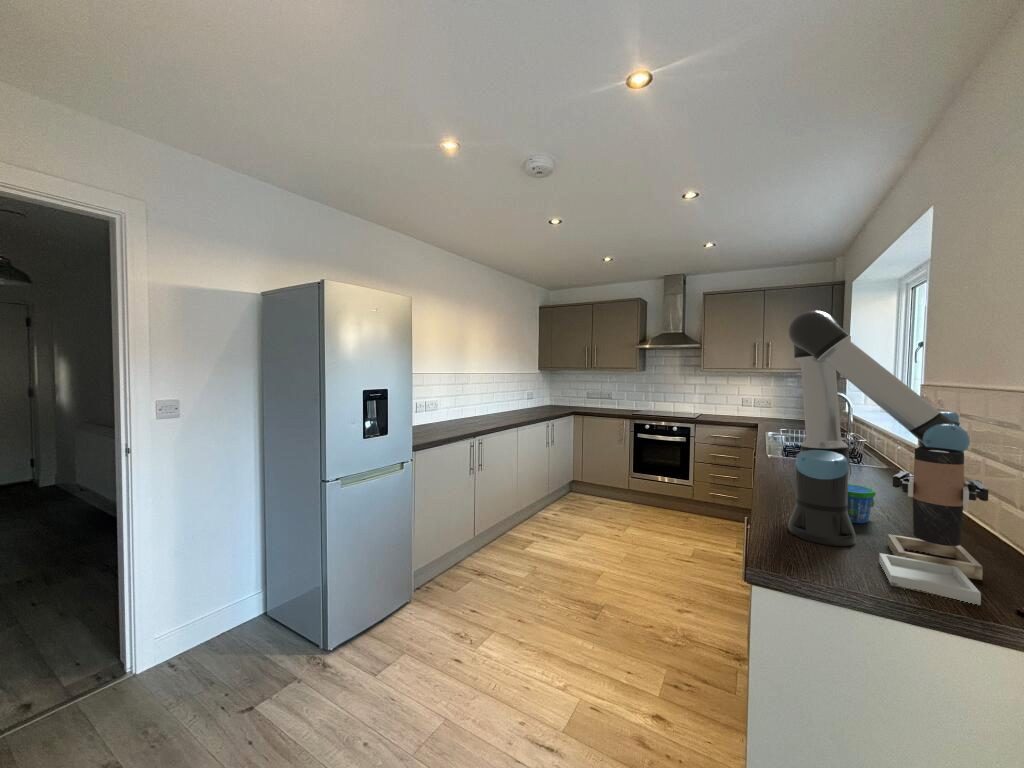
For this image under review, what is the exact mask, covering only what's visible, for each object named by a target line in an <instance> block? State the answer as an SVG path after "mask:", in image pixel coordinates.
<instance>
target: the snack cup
mask: <svg viewBox="0 0 1024 768" xmlns="http://www.w3.org/2000/svg"><path fill="white" fill-rule="evenodd" d="M876 495H877V494H876V491H875V490H874V489H873V488H869V487H867V486H862V485H858V484H857V485H856V484H849V483H848V505H847V509H848V515H849V518H850V520H851V523H852V524H866V523H868V522H869V519H870V516H871V510H872V508H873V507H874V506H875V501H874V497H875V496H876Z"/></svg>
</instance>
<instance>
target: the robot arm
mask: <svg viewBox="0 0 1024 768" xmlns="http://www.w3.org/2000/svg"><path fill="white" fill-rule="evenodd" d="M788 337H789V339H790V341H791V342H792V343H793V353H794V354H793V355H794V360H795V361H796V362H797V363H799V364H800V369H801V370H800V371H801V385H802V398H803V399H802V401H803V413H804V428H805V440H804V441H803V442H802V443H800V452H798V453H797V455H796V457H795V458H796V459H795V462H794V465H795V481H796V482H795V505H794V508H793V510H792V513H791V515H790V517H789V521H788V525H787V526H788V529H789V530H788V531H790V532H791V533H790V532H789V533H790V534H792V535H793V534H794V536H795V535H796V536H795V537H797V536H798V537H797V538H799V537H800V538H799V539H802V540H805V541H808V542H813V543H817V544H821V545H825V546H826V545H827V546H836V547H849V546H853V545H855V544H856V542H857V541H856V540H857V539H856V538H857V535H856V531H855V528H854V526H853V523H852V522H851V520H850V518H849V515H848V509H847V505H848V484H849V480H850V477H851V475H852V466H851V463H850V453H849V445H848V444H847V443H845V442H844V441H843V440H842V435H841V433H842V432H841V422H840V419H841V418H840V407H839V394H838V382H837V378H838V377H837V373H839V374H840V375H841V376H842V377H844V378H845V379H846V380H847V381H849V382H850V383H851V384H852V385H854V387H856V388H857V389H858V390H859V391H861V392H862V393H863V394H864V395H865V396H866V397H867V398H869V399H870V400H871V401H872V402H873V403H875V404H876V405H877V406H878V407H880V408H881V410H883V411H884V412H886V413H887V414H888V415H889V416H890V417H892V418H893V419H894V420H895V421H896V422H897V423H899V424H900V425H901V426H902V427H904V428H905V429H906V430H907V431H908V432H910V434H911V435H912V436H914V437H915V438H916V439H917V440H918V447H936V448H946V449H953V450H959V451H962V452H964V453H965V451H967V449H968V448H969V446H970V445H971V441H970V436H969V434H968V432H967V431H966V430H965V429H963V428H962V427H961V426H960V425H961V422H960V418H959V416H960V415H959V414H958V413H957V412H953V411H939V410H938V409H937V408H936V407H935V406H933V405H932V404H931V403H929V402H928V401H927V400H925V399H924V398H923V397H922V396H921V395H919V394H918V393H917V392H915V391H914V390H913V389H912V388H911V387H909V386H908V385H906V384H905V383H904V382H903V381H902V380H900V379H899V378H897V376H895V375H894V374H893V373H892V372H890V371H889V370H887V369H886V368H885V367H884V366H883V365H881V364H880V363H879V362H878V361H876V360H875V359H874V358H873V357H871V356H870V355H868V354H867V353H866V352H865V351H863V349H861V348H860V347H859V346H857V345H856V344H855V343H854V342H852V341H851V340H852V336H851V335H850V334H849V333H847V332H846V331H845V329H843V328H842V327H841V325H840V324H839V323H838V321H837V320H836V319H835V318H834V317H833V316H832V315H830V314H829V313H827V312H825V311H821V310H808V311H805V312H802V313H800V314H799V315H797V316H796V317H794V318H793V320H792V321H791V322H790V324H789V328H788ZM892 487H893V488H901V489H902V492H903V493H907V497H910V498H913V494H914V474H911V473H910V472H908V471H907V472H906V470H902V469H901V470H899V472H898V473H897V474H894V475H892ZM977 499H978V500H980V501H983V502H988V501H989V488H987V487H986V486H985V485H984V484H983V483H982V480H978V479H976V480H969V481H968V482H967V481H965V480H964V488H963V506H966V507H969V505H970V501H974V502H975V501H977Z"/></svg>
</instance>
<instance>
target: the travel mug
mask: <svg viewBox="0 0 1024 768" xmlns="http://www.w3.org/2000/svg"><path fill="white" fill-rule="evenodd" d="M913 462H914V463H913V475H914V494H913V497H912V521H913V524H912V526H913V531H912V532H913V536H914V538H916V539H921V540H923V541H927V542H930V543H934V544H939V545H945V546H959V545H960V546H961V540H962V539H961V538H962V526H963V514H964V505H963V488H964V481H965V479H964V477H965V464H964V463H965V451H964V452H962V451H959V450H953V449H946V448H936V447H919V446H918V447H917V448H914V460H913Z"/></svg>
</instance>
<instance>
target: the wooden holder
mask: <svg viewBox="0 0 1024 768" xmlns="http://www.w3.org/2000/svg"><path fill="white" fill-rule="evenodd" d="M887 546H889V547H888V548H889V550H890V551H892V552H891V553H892V555H893V556H899V557H904V558H910V559H915V560H921V561H926V562H932V563H937V564H943V565H948V566H954V567H958V568H959V569H960V570H961V571H962V573H963V574H964V575H965V576H966V577H967V578H968V579H974V580H981V581H983V570H984V569H983V565H982V564H980V563H979V562H978V561H977V560H976V559H975V558H974V557H973V556H972V555H971V554H970V553H969V552H968V551H967V550H966V549H965V548H964V547H962V545H961V544H960V545H959V546H945V545H939V544H934V543H930V542H927V541H923V540H921V539H918V538H917V537H908V536H904V535H903V536H902V535H896V534H889V533H887ZM905 549H907V550H905ZM910 550H913V551H911V552H909V551H910ZM916 551H919V552H918V553H916ZM922 552H925V553H924V554H921V553H922ZM928 553H929V554H928ZM927 554H928V555H927ZM932 555H933V556H932ZM934 555H935V556H934ZM938 556H941V557H938ZM943 557H944V558H943ZM945 557H946V558H945ZM951 558H952V559H951Z"/></svg>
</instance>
